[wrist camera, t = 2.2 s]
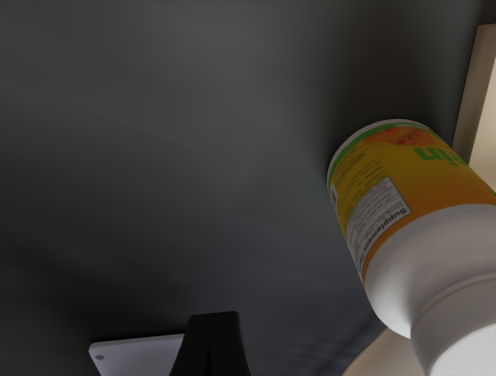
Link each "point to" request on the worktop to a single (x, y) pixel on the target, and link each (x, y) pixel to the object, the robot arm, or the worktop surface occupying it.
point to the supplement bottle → (421, 242)
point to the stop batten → (479, 109)
